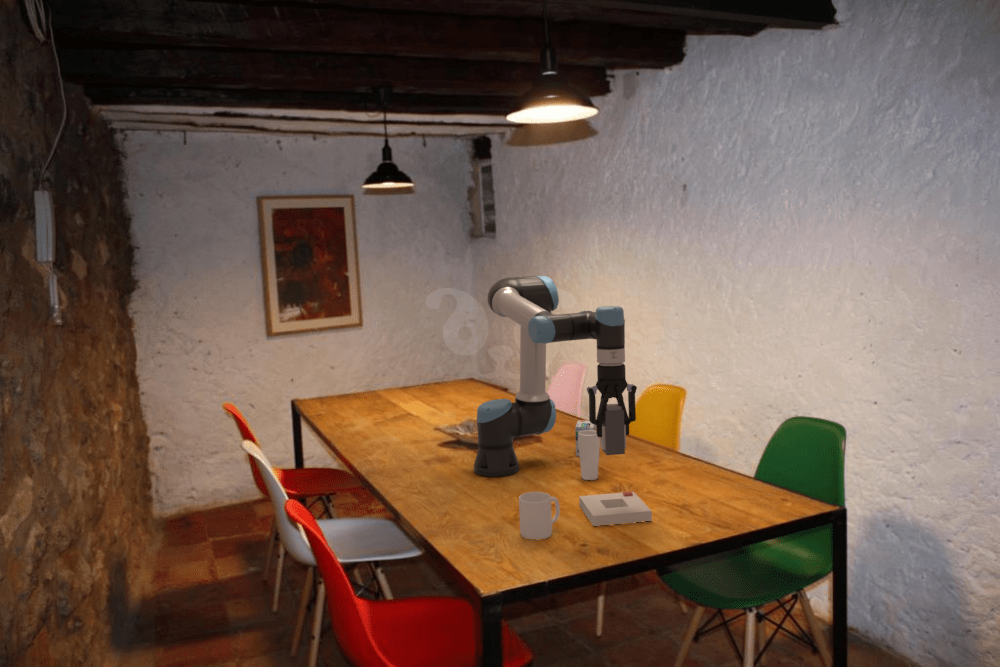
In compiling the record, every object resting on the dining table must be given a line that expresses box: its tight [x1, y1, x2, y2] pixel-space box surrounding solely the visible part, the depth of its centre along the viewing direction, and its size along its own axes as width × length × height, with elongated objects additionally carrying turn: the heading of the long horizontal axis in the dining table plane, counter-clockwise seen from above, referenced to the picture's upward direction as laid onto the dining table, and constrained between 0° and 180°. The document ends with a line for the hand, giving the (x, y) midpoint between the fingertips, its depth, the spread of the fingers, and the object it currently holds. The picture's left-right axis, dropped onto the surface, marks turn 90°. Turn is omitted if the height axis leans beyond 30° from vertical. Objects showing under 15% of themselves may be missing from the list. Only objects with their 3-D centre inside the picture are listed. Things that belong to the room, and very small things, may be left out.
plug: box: [601, 403, 626, 456], centre depth 203 cm, size 5×5×13 cm
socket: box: [578, 490, 653, 527], centre depth 206 cm, size 16×16×4 cm
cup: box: [518, 491, 561, 541], centre depth 194 cm, size 8×12×10 cm
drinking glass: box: [578, 430, 601, 481], centre depth 237 cm, size 7×7×15 cm
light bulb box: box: [574, 419, 596, 457], centre depth 267 cm, size 11×7×11 cm, turn 168°
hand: (613, 447), depth 204 cm, fingers closed on plug, 5 cm apart
